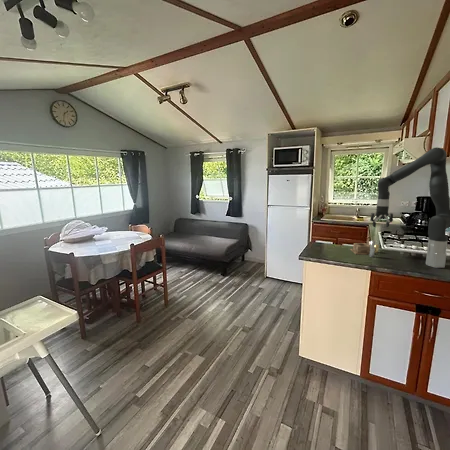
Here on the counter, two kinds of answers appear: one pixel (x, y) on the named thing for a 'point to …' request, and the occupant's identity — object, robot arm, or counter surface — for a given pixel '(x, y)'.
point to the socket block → (361, 249)
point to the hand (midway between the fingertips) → (380, 227)
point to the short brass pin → (376, 248)
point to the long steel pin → (372, 248)
